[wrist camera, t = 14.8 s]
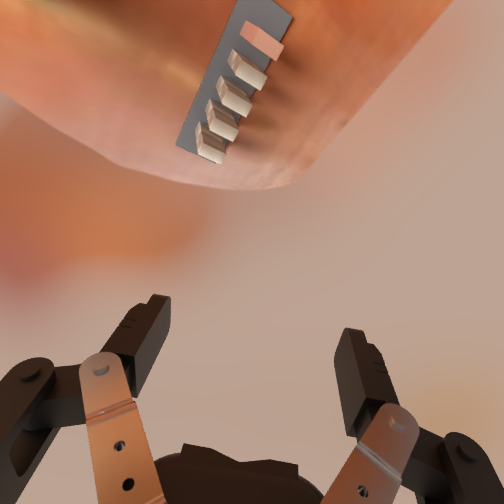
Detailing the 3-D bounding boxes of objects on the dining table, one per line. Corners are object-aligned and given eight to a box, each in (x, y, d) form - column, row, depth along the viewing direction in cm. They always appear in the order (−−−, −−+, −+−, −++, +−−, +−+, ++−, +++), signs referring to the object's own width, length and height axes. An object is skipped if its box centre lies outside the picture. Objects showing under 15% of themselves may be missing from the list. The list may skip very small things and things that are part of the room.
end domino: (260, 49, 59) (276, 61, 50) (239, 34, 57) (251, 44, 48) (267, 35, 58) (284, 46, 49) (245, 20, 56) (259, 27, 47)
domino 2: (236, 98, 64) (246, 117, 55) (215, 86, 62) (222, 104, 53) (241, 87, 63) (252, 105, 54) (220, 74, 61) (228, 90, 52)
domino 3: (225, 120, 67) (233, 141, 58) (205, 109, 64) (209, 130, 56) (230, 110, 65) (239, 130, 57) (210, 98, 63) (215, 118, 54)
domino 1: (248, 74, 62) (260, 90, 53) (227, 61, 59) (236, 75, 51) (254, 62, 60) (267, 77, 52) (232, 48, 58) (243, 60, 49)
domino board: (175, 143, 69) (175, 145, 68) (245, -21, 53) (246, -21, 52) (215, 161, 73) (215, 163, 73) (291, 16, 57) (292, 17, 57)
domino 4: (214, 140, 69) (220, 164, 60) (194, 131, 67) (198, 154, 58) (219, 131, 68) (226, 154, 59) (199, 121, 66) (203, 143, 57)
